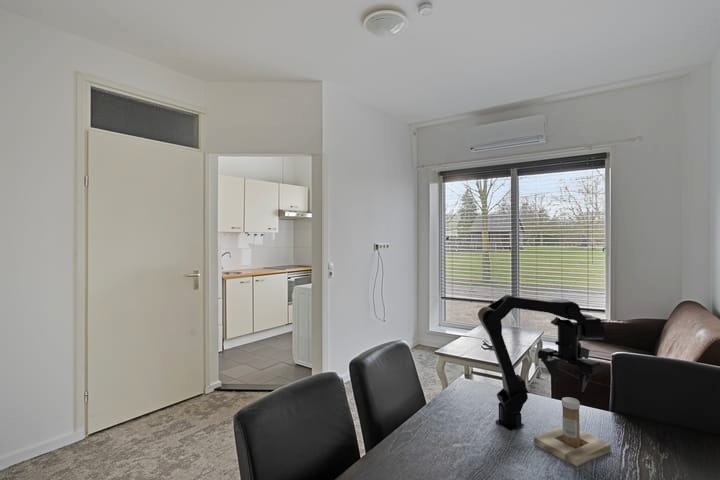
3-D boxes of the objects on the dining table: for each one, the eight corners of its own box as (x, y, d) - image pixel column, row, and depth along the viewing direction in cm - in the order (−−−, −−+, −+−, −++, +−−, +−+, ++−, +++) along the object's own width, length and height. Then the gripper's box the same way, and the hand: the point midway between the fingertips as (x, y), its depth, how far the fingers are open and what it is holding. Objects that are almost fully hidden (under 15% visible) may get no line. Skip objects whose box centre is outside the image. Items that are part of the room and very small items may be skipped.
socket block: (533, 443, 110) (533, 437, 110) (567, 430, 117) (567, 424, 117) (576, 467, 98) (576, 459, 98) (610, 451, 106) (610, 444, 106)
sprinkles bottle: (583, 446, 107) (582, 400, 107) (575, 451, 105) (574, 404, 105) (567, 439, 111) (566, 395, 111) (559, 444, 109) (558, 398, 109)
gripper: (612, 342, 115) (613, 391, 115) (556, 329, 132) (557, 373, 132) (591, 347, 110) (591, 399, 110) (536, 333, 127) (536, 378, 127)
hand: (568, 386), depth 120 cm, fingers open, 9 cm apart
